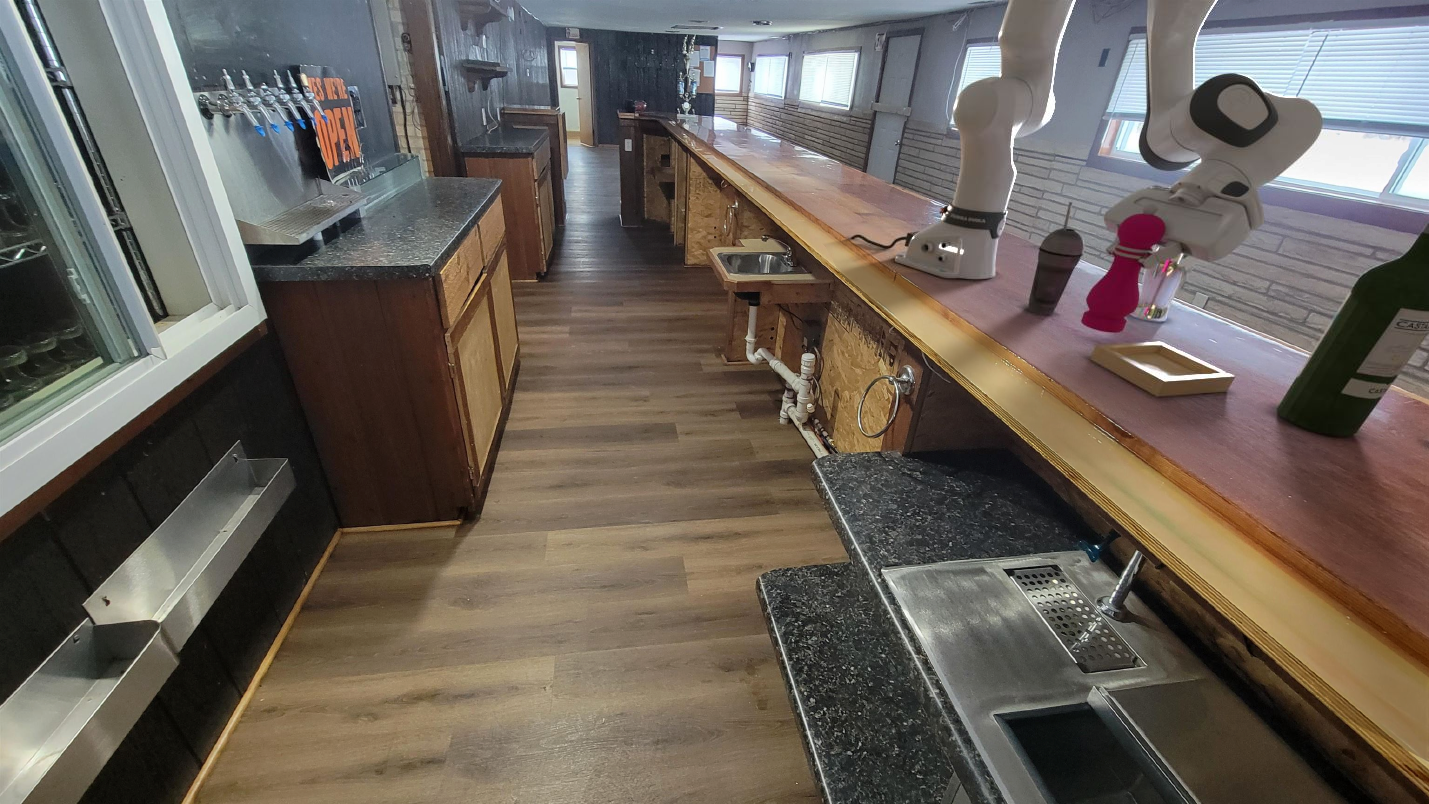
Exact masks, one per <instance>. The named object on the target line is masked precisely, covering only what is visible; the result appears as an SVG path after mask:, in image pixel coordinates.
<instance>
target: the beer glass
mask: <svg viewBox="0 0 1429 804" xmlns="http://www.w3.org/2000/svg"><path fill="white" fill-rule="evenodd" d="M1152 249H1153V252H1151V253H1154V252H1156V251H1158V250H1160V249H1163V248H1162V247H1159V246H1155V245H1153V248H1152ZM1197 261H1198V259H1197V258H1194V257H1191V256H1188V255H1184V254H1181V253H1180V254H1179V255H1177V256H1176V257H1175V258H1172V259H1169V260H1166V261H1163V262H1160V263H1157V264H1156V265H1155V266H1153V267H1152V268H1151V269H1145V268H1144V272H1143V275H1142V276H1143V277H1142V282H1141V285H1140V286H1141V287H1140V289H1139V302H1138V305H1137V308H1136V310H1135V311H1134V312H1133V313H1131V314H1129V315H1130V316H1132V317H1134V318H1136V319H1139V320H1143V321H1147V322H1154V323H1162V322H1166V321H1167V318H1168V313H1169V309H1170V306H1171V305H1172V302H1173V301H1174V298H1175V297H1176V295H1177V294H1178V292H1179V291H1180V290H1181V288H1182V287H1183V285H1184V284H1185V283H1186V281H1187V280H1188V278H1189V276H1190V275H1191V273H1192V272H1193V270H1194V268H1195V266H1196V264H1197Z"/></svg>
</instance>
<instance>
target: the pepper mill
mask: <svg viewBox="0 0 1429 804" xmlns="http://www.w3.org/2000/svg"><path fill="white" fill-rule="evenodd" d="M1156 212H1157V206H1156V205H1155V204H1148V205H1146V206H1145V207H1144V208H1143V213H1142V214H1135V215H1132V216H1130V217H1128V218H1126V219H1125V220H1124V221H1123V222H1122V223H1121V225H1120V227H1119V228H1118V232H1117V233H1116V235H1117V234H1118V238H1119V240H1120V243H1117V244H1116V248H1115V249H1114V250H1113V252H1114V253H1115V257H1113V261H1112V263H1111V265H1110V268H1109V269H1108V271H1107V272H1106V273H1105V274H1104V275H1103V277H1101V279H1100V280H1098V281H1097V282H1096V284H1094V285H1093V286H1092V288H1090V290H1089V292H1088V294H1087V295H1086V299H1085V302H1086V305H1087V307H1088V309H1087V310H1084V312H1083V314H1082V317H1081V319H1080V322H1081V324H1082V325H1083V326H1084V327H1087V328H1089V329H1092V330H1095V331H1099V332H1104V333H1111V334H1116V333H1121V332H1123V331H1124V329H1125V327H1126V324H1127V322H1128V321H1127V319H1126V317H1127V316H1129V315H1130V314H1131V313H1133V312H1134V311H1135V310H1136V308H1137V305H1138V302H1139V293H1140V288H1139V287H1140V286H1139V276H1140V272H1141V270H1142V267H1140V266H1139V265H1140V264H1139V263H1138V260H1139V258H1141V257H1143V255H1144V254H1146V253H1147V252H1148V253H1151V252H1153V248H1152V247H1154V246H1155V244H1156V243H1158V242H1159V241H1160V240H1161V239H1162V238H1163V236H1164V233H1165V223H1164V222H1163V220H1162V219H1161V218H1159V217H1158V216H1155V215H1153V214H1155V213H1156Z"/></svg>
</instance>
